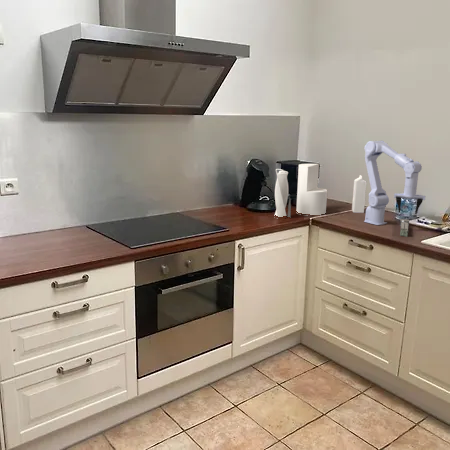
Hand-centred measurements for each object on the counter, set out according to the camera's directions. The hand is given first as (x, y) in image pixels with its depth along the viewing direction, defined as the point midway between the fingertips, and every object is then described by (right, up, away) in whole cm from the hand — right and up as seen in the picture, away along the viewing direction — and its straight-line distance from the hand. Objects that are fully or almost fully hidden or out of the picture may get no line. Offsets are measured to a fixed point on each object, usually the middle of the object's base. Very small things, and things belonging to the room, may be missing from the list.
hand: (407, 212), depth 231 cm
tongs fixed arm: (-1, -9, +3) cm, 9 cm away
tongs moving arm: (-1, -9, +2) cm, 9 cm away
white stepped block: (-41, +1, +42) cm, 58 cm away
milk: (-12, +2, +45) cm, 47 cm away
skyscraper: (-60, -2, +28) cm, 67 cm away
